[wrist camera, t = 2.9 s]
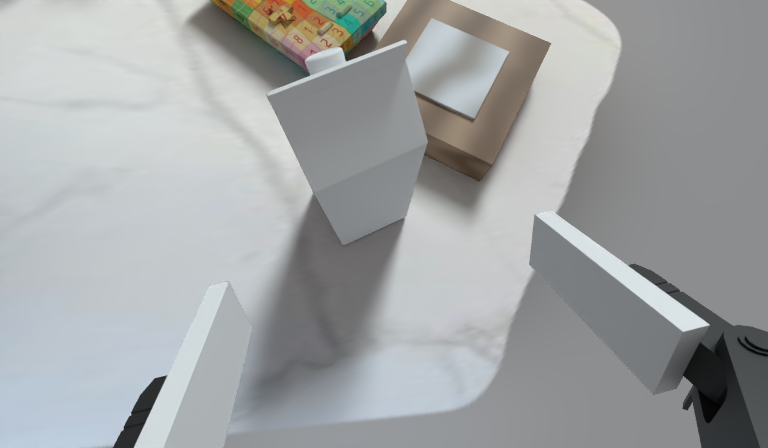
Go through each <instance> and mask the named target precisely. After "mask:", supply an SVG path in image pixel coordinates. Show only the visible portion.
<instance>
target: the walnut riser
mask: <svg viewBox="0 0 768 448" xmlns="http://www.w3.org/2000/svg"><path fill="white" fill-rule="evenodd" d="M402 40H406V42H407V49H406V63H407V66H408V70H409V74H410V77H411V81H412V85H413V88H414V92H415V96H416V100H417V103H418V107H419V111H420V114H421V118H422V122H423V125H424V129H425V133H426V136H427V140H428V143H427V146H426V149H425V153H424V155H426V156H428V157H431V158H433V159H435V160H437V161H439V162H441V163H443V164H445V165H447V166H449V167H451V168H453V169H455V170H457V171H459V172H461V173H463V174H466V175H468V176H470V177H472V178H474V179H476V180H478V181H480V180H481V179H482V178H483V176H484V175H485V174H486V172H487V171H488V170H489V169H490V167H491V166H492V165H493V163H494V161H495V159H496V157H497V154H498V152H499V150H500V148H501V146H502V144H503V142H504V140H505V138H506V136H507V134H508V132H509V130H510V128H511V125H512V123H513V121H514V119H515V117H516V115H517V113H518V111H519V109H520V107H521V105H522V103H523V101H524V99H525V97H526V94H527V92H528V90H529V88H530V86H531V84H532V82H533V80H534V78H535V76H536V74H537V72H538V70H539V68H540V66H541V63H542V61H543V59H544V57H545V55H546V53H547V51H548V49H549V47H550V45H551V43H549V42H547V41H544V40H542V39H540V38H537V37H535V36H533V35H530V34H528V33H526V32H523V31H521V30H518V29H516V28H514V27H511V26H509V25H507V24H504V23H502V22H500V21H497V20H495V19H492V18H490V17H488V16H485V15H483V14H481V13H478V12H476V11H474V10H471V9H469V8H466V7H464V6H462V5H459V4H457V3H455V2H452V1H450V0H407V2H406V3H405V5H404V6H403V8H402V9H401V11H400V12H399V14H398V15H397V17H396V18H395V20H394V21H393V23H392V24H391V26H390V27H389V29H388V30H387V32H386V33H385V35H384V36H383V38H382V39H381V41H380V42H379V44H378V45H377V47H376V48H375V50H374V51H376V50H378V49H381V48H384V47H386V46H389V45H391V44H394V43H397V42H399V41H402Z"/></svg>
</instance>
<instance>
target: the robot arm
mask: <svg viewBox="0 0 768 448" xmlns="http://www.w3.org/2000/svg"><path fill="white" fill-rule="evenodd" d="M529 265H530V266H531V267H532V268H533V269H534V270H535V271H536V272H537V273H538V274H539V275H540V276H541V277H542V278H543V279H544V280H545V281H546V283H547V284H549V286H550V287H551V288H552V289H553V290H554V291H555V292H556V293H557V294H558V295H559V296H560V297H561V298H562V299H563V300H564V302H565V303H566V304H567V305H568V306H569V307H570V308H571V309H572V310H573V311H574V312H575V313H576V314H577V315H578V316H579V317H580V318H581V319H582V320H583V321H584V322H585V324H586V325H587V326H588V327H589V328H590V329H591V330H592V331H593V332H594V333H595V334H596V335H597V336H598V337H599V338H600V339H601V340H602V341H603V342H604V344H605V345H606V346H607V347H608V348H609V349H610V350H611V351H612V352H613V353H614V354H615V355H616V356H617V357H618V358H619V359H620V360H621V361H622V362H623V364H624V365H625V366H626V367H627V368H628V369H629V370H630V371H631V372H632V373H633V374H634V375H635V376H636V377H637V378H638V379H639V380H640V382H642V384H643V385H644V386H645V387H646V388H647V389H648V390H649V391H650V392H651V393H652V394H653V395H655V394H659V393H662V392H666V391H670V390H673V389H676V388H677V387H678V385H679V383H680V381H681V379H682V377H683V376H684V377H685V378H686V379H688V380H689V381H690V382H691V383H692V384H693V386H692V388H691V390H690V392H689V393H688V395H687V397H686V399H685V400H684V402H683V409H685V410H688V408H689V407H690V405H691V403H692V402H693V406H694V411H695V416H696V421H697V427H698V432H699V436H700V442H701V447H702V448H768V332H766V331H763V330H760V329H757V328H754V327H749V326H741V325H736V326H733V325H731V324H729V323H728V322H726V321H725V320H723V319H722V318H720V317H719V316H718V315H716V314H715V313H713V312H712V311H710V310H709V309H707V308H706V307H704V306H703V305H701V304H700V303H698V302H697V301H695V300H694V299H693V298H691V297H690V296H688V295H687V294H685V293H684V292H680V291H679V289H678V288H676V287H675V286H673V285H672V284H671V283H669V284H668V283H667V281H666V280H665V279H663V278H662V277H660V276H659V275H657V274H656V273H654V272H653V271H651V270H648V269H646V268H644V267H641V266H639V265H636V264H631V265H626V264H625V263H623V262H622V261H620V260H619V259H618V258H616V257H615V256H614V255H612V254H611V253H609V252H608V251H607V250H605V249H604V248H602V247H601V246H599V245H598V244H597V243H595V242H594V241H593V240H591V239H590V238H588V237H587V236H586V235H584V234H583V233H581V232H580V231H578V230H577V229H576V228H575V227H573V226H572V225H570V224H569V223H568V222H566V221H564V220H563V219H562V218H560V217H559V216H558V215H556V214H555V213H554V212H552V211H547V212H543V213H538V214H535V215H534V225H533V234H532V244H531V253H530V262H529ZM252 329H253V328H252V326H251V324H250V322H249V320H248V318H247V316H246V314H245V312H244V310H243V308H242V306H241V304H240V302H239V300H238V298H237V296H236V294H235V292H234V290H233V288H232V286H231V284H230V282H229V281H228V282H223V283H219V284H214V285H210V286H209V288H208V290H207V292H206V294H205V297H204V299H203V301H202V303H201V305H200V307H199V309H198V311H197V314H196V316H195V318H194V320H193V322H192V324H191V326H190V329H189V331H188V333H187V335H186V337H185V339H184V341H183V344H182V346H181V348H180V350H179V352H178V354H177V356H176V359H175V361H174V363H173V365H172V367H171V369H170V371H169V374H168V375H167V376H163V377H159V378H155V379H154V380H153V381H152V382H151V383H150V385H149V386H148V387H147V388H146V389H145V390H144V391H143V393H142V394H141V395H140V397H139V399H138V401H137V402H136V404H135V406H134V408H133V410H132V412H131V413H132V415H131V416H129V418H128V420H127V422H126V424H125V426H124V430H123V431H121V433H120V435H119V437H118V439H117V441H116V443H115V445H114V447H113V448H224V444H225V440H226V436H227V432H228V428H229V424H230V420H231V416H232V411H233V407H234V403H235V399H236V395H237V391H238V387H239V383H240V379H241V375H242V370H243V366H244V362H245V358H246V354H247V350H248V346H249V342H250V338H251V334H252Z"/></svg>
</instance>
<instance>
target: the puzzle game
mask: <svg viewBox="0 0 768 448" xmlns="http://www.w3.org/2000/svg"><path fill="white" fill-rule="evenodd" d="M211 1H212V2H213V3H215V4H216V5H217V6H218V7H219V8H221V9H222V10H223V11H225V12H226V13H227V14H229V15H230V16H231V17H233V18H234V19H236V20H237V21H238V22H240V23H241V24H242V25H244V26H245V27H247V28H248V29H249V30H251V31H252V32H253V33H255V34H256V35H258V36H259V37H260V38H262V39H263V40H264V41H266V42H267V43H269V44H270V45H271V46H273V47H274V48H275V49H277V50H278V51H280V52H281V53H282V54H284V55H285V56H286V57H288V58H289V59H291V60H292V61H293V62H295V63H296V64H297V65H299V66H300V67H301V68H303V69H304V70H306V71H307V72H308V73H309V70H308V69H307V66H306V64H305V59H307V58H308V57H309V56H311V55H313V54H316V53H318V52H321V51H324V50H327V49H330V48H335V47H341V48H342V49H343V52H344V56H346V55H347V54H348V53H349V52H350V51H351V50H352V49H353V48H354V47H355V46H357V45H358V44H359V43H360V42H361V41H362V40H363V39H364V38H365V37H366V36H367V35H368V34H369V33H370V32H371V31H372V30H373V28H374V27H375V25H376V24H377V22H378V21H379V20H380V19H381V18H382V16H383V15H384V14H385V13H386V2H385V1H384V0H211Z"/></svg>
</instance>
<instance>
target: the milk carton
mask: <svg viewBox="0 0 768 448" xmlns="http://www.w3.org/2000/svg"><path fill="white" fill-rule="evenodd" d="M406 49H407V42H406V40H402V41H399V42H397V43H394V44H391V45H389V46H386V47H384V48H381V49H378V50H376V51H373V52H371V53H368V54H365V55H363V56H360V57H358V58H355V59H352V60H350V61H347V62H346V60H345V56H344V52H343V49H342V48H341V47H335V48H330V49H327V50H324V51H321V52H318V53H316V54H313V55H311V56H309V57H308V58H307V59H305V64H306V66H307V69H308V70H309V73H310V76H308V77H305V78H303V79H300V80H298V81H295V82H292V83H290V84H287V85H285V86H282V87H279V88H277V89H274V90H272V91H269V92H267V94H266V95H267V98H268V100H269V101H270V103H271V105H272V107H273V109H274V111H275V113H276V115H277V117H278V120H279V122H280V124H281V126H282V128H283V130H284V132H285V134H286V136H287V138H288V140H289V143H290V145H291V147H292V149H293V151H294V153H295V155H296V157H297V159H298V161H299V163H300V166H301V168H302V170H303V172H304V174H305V176H306V178H307V180H308V182H309V184H310V186H311V188H312V191H313V192H314V194H315V196H316V198H317V200H318V201H319V203H320V205H321V207H322V209H323V211H324V212H325V214H326V216H327V218H328V220H329V222H330V223H331V225H332V227H333V229H334V231H335V233H336V234H337V236H338V238H339V240H340V242H341V244H342V245H346V244H349V243H351V242H353V241H355V240H357V239H359V238H362V237H364V236H366V235H368V234H370V233H372V232H374V231H377V230H379V229H381V228H383V227H385V226H387V225H390V224H392V223H394V222H396V221H398V220H400V219H402V218H404V217H406V215H407V211H408V208H409V204H410V201H411V198H412V194H413V191H414V187H415V184H416V180H417V177H418V173H419V170H420V167H421V163H422V160H423V156H424V153H425V149H426V146H427V143H428V140H427V136H426V133H425V129H424V125H423V122H422V118H421V114H420V111H419V107H418V103H417V100H416V96H415V92H414V88H413V85H412V81H411V77H410V74H409V70H408V66H407V63H406Z"/></svg>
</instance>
